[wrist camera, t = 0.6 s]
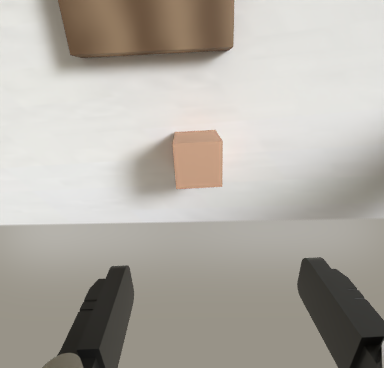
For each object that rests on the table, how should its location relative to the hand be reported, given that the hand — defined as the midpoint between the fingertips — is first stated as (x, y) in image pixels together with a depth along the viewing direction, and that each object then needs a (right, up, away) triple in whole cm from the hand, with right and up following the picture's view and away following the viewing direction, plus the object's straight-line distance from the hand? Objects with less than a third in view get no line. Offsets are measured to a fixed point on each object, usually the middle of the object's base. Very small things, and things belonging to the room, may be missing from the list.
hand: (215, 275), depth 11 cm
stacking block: (-1, +9, +19) cm, 21 cm away
